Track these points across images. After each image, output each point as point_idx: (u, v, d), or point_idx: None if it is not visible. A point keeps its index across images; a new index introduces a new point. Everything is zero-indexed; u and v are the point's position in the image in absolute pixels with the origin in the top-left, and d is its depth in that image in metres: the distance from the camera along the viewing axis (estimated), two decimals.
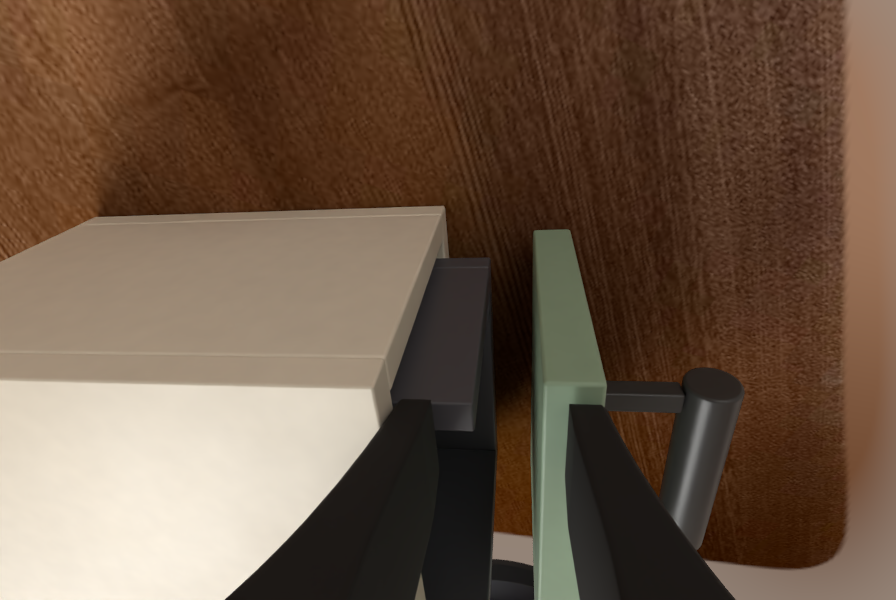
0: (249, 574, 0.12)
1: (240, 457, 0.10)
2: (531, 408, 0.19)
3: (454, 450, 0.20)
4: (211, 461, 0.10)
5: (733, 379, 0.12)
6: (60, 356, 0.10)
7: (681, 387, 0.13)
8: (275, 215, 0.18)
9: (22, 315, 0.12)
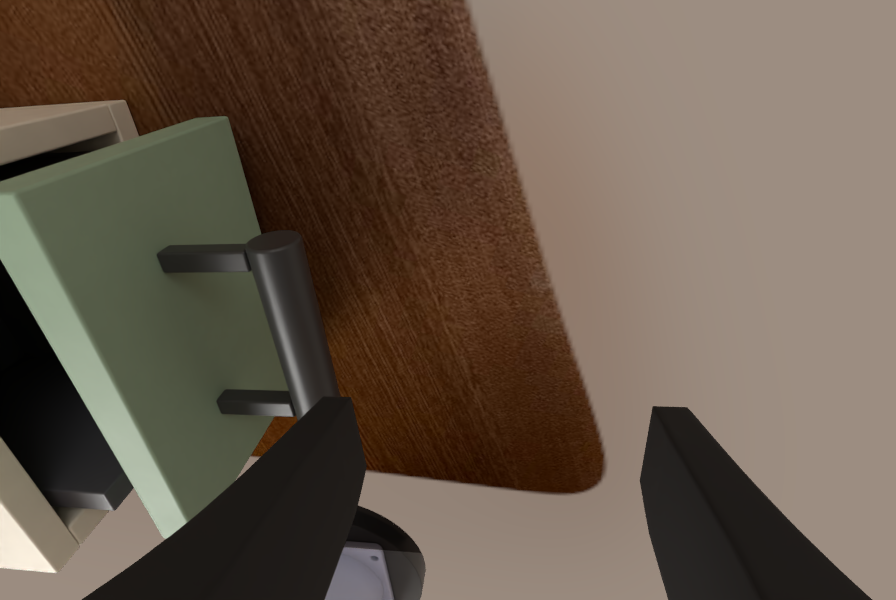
0: None
1: None
2: None
3: None
4: None
5: (295, 236, 0.12)
6: None
7: None
8: None
9: None
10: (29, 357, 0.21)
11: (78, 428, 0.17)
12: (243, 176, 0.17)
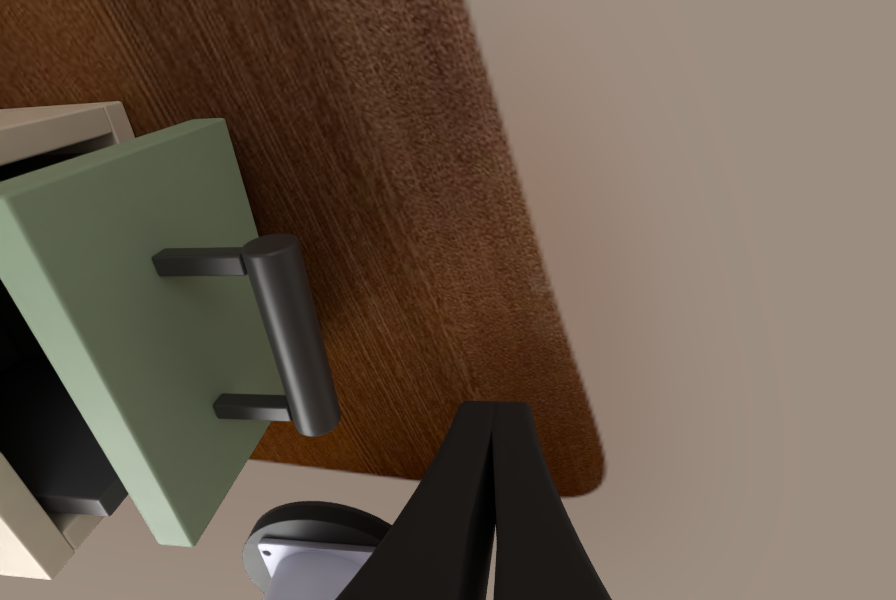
0: None
1: None
2: None
3: None
4: None
5: (292, 239, 0.12)
6: None
7: None
8: None
9: None
10: (25, 360, 0.21)
11: (73, 433, 0.17)
12: (240, 178, 0.17)
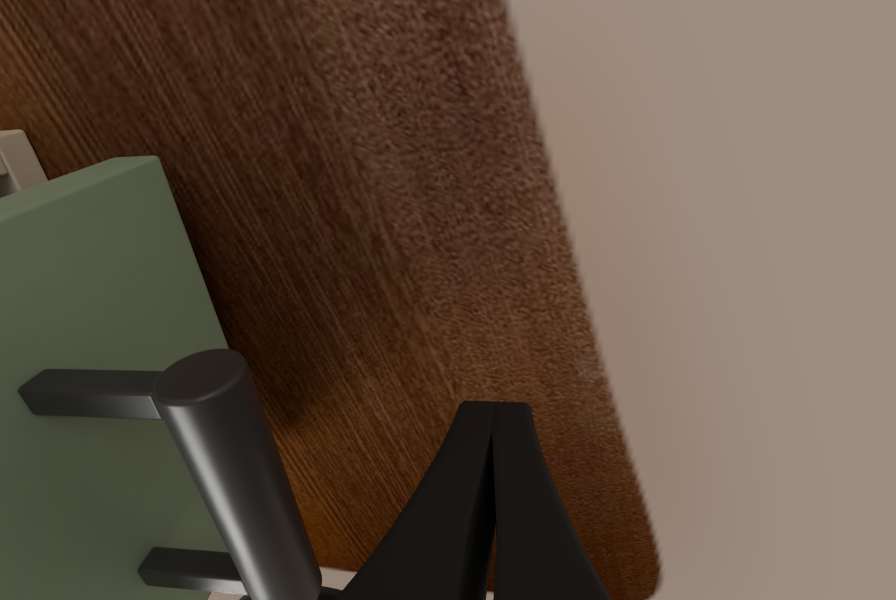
0: None
1: None
2: None
3: None
4: None
5: (235, 366, 0.08)
6: None
7: None
8: None
9: None
10: None
11: None
12: (184, 236, 0.12)
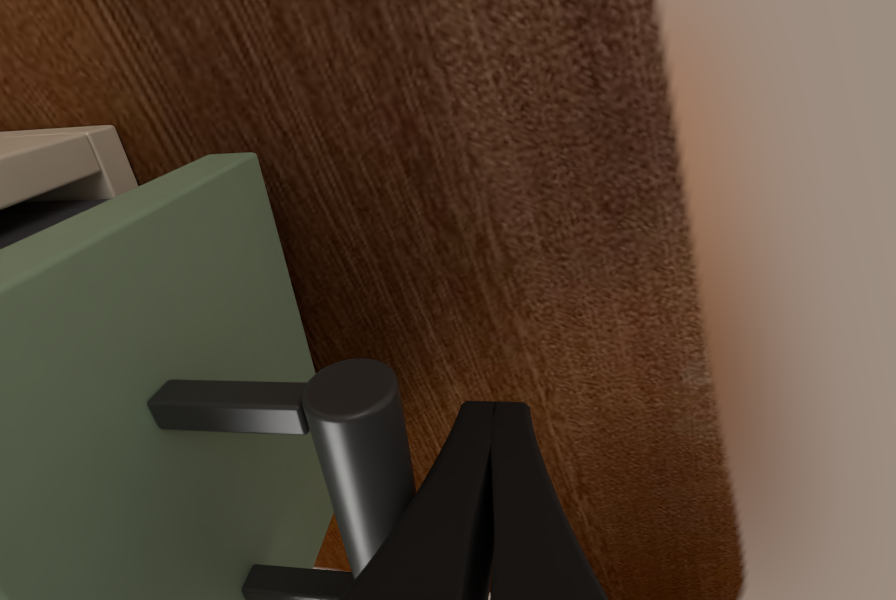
0: None
1: None
2: None
3: None
4: None
5: (387, 377, 0.07)
6: None
7: None
8: None
9: None
10: None
11: None
12: (277, 237, 0.11)
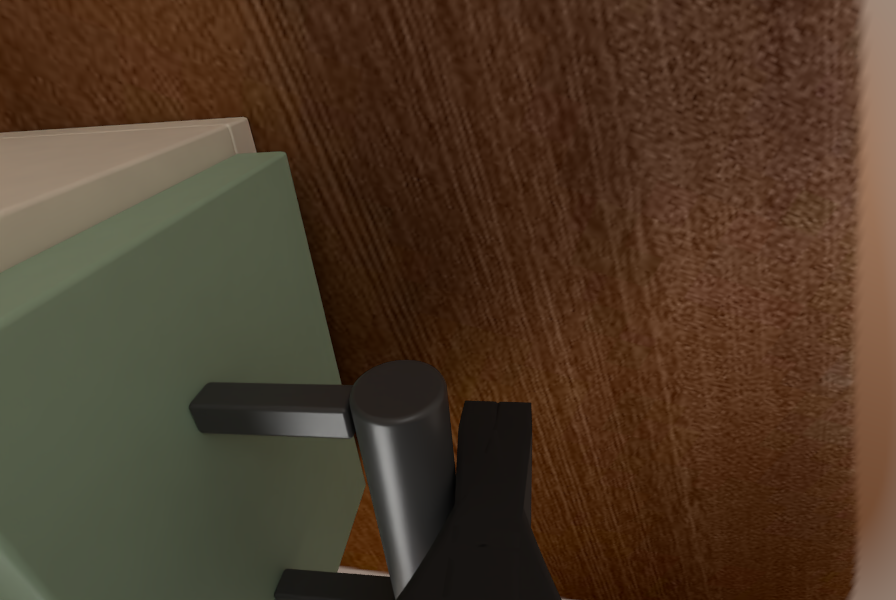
0: None
1: None
2: None
3: None
4: None
5: (435, 380, 0.07)
6: None
7: None
8: (1, 135, 0.12)
9: None
10: None
11: None
12: (304, 237, 0.11)
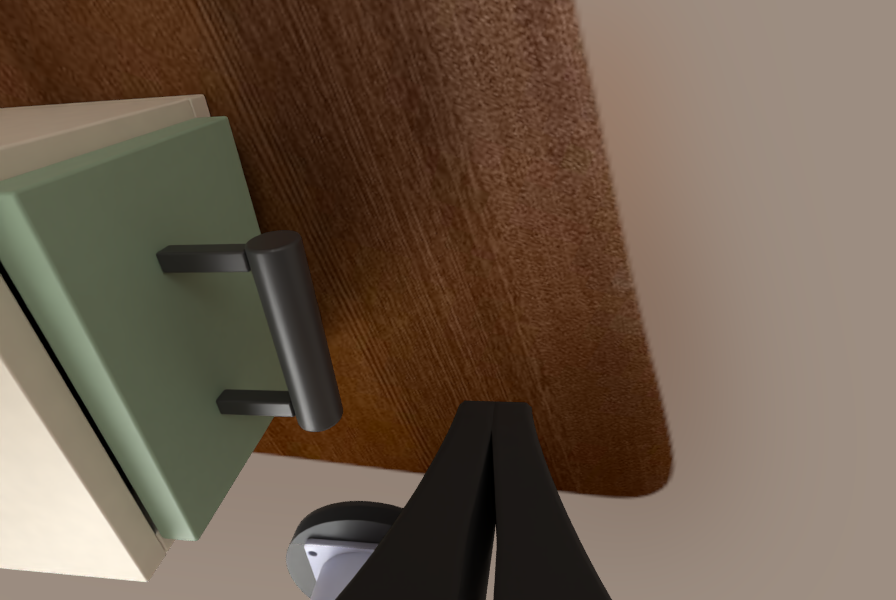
0: None
1: None
2: None
3: None
4: None
5: (294, 236, 0.12)
6: None
7: None
8: (37, 107, 0.17)
9: None
10: None
11: None
12: (243, 176, 0.17)
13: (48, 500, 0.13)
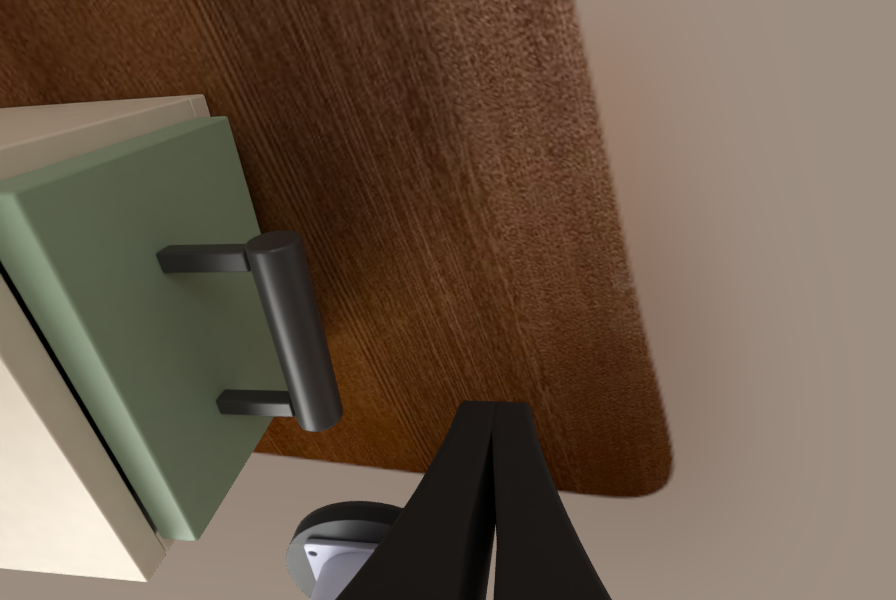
0: None
1: None
2: None
3: None
4: None
5: (294, 236, 0.12)
6: None
7: None
8: (37, 107, 0.17)
9: None
10: None
11: None
12: (243, 176, 0.17)
13: (48, 500, 0.13)
